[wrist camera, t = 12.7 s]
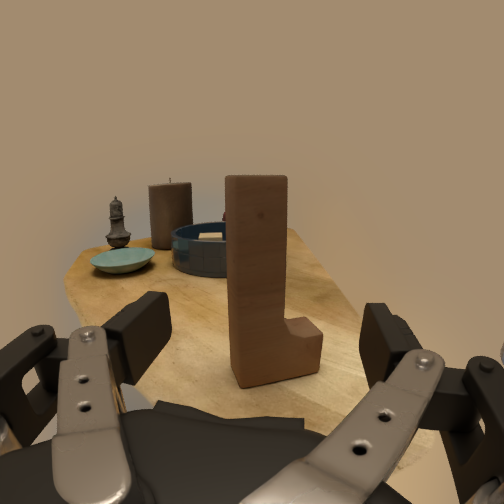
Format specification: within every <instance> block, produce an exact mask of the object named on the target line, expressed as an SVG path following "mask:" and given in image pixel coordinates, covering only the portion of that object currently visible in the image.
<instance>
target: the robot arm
mask: <svg viewBox="0 0 504 504" xmlns="http://www.w3.org/2000/svg"><path fill="white" fill-rule="evenodd" d="M171 333H172V324H171V316H170V308H169V300H168V295H167V294H166V293H165V292H155V291H148V292H147V293H145V294H144V295H143V296H142V297H141V298H139V299H138V300H137V301H135V302H133V303H131V304H128V305H127V306H125V307H124V308H123V309H122V310H121V312H120V311H119V312H118V313H117V314H116V315H115V316H113V317H112V318H111V319H109V320H108V321H107V322H106V323H105V324H103V325H102V326H101V327H99V326H86V327H82V328H79V329H77V330H75V331H74V332H72V334H71V335H70V338H69V339H65V338H56V335H55V331H54V329H53V327H52V326H50V325H38V326H35V327H31V328H29V329H28V330H26V331H25V332H24V333H22V334H21V335H20V336H18V337H17V338H16V339H14V340H13V341H12V342H10V343H9V344H7V345H6V346H5V347H4V348H3V349H1V350H0V504H412V503H411V502H409V501H408V500H407V499H405V498H404V497H403V496H402V495H400V494H399V493H398V492H397V491H395V490H394V489H393V488H392V487H390V486H389V485H388V484H387V483H386V481H387V480H388V478H389V477H390V475H391V474H392V472H393V471H394V469H395V467H396V466H397V464H398V463H399V461H400V459H401V458H402V456H403V455H404V453H405V451H406V450H407V448H408V446H409V445H410V443H411V441H412V439H413V438H414V436H415V434H416V432H417V430H418V428H420V429H429V430H439V432H440V434H441V438H442V441H443V444H444V447H445V450H446V454H447V457H448V461H449V464H450V467H451V471H452V475H453V478H454V482H455V486H456V490H457V494H458V498H459V503H460V504H504V369H503V367H502V366H501V365H500V364H499V363H498V362H497V361H496V360H494V359H492V358H489V357H485V356H476V357H473V358H471V359H470V360H469V361H468V364H467V366H466V369H456V368H448V367H445V362H444V359H443V358H442V357H441V356H440V355H438V354H437V353H435V352H432V351H430V350H425V349H423V348H422V346H421V345H420V343H419V342H418V340H417V338H416V337H415V335H413V332H412V330H411V329H410V327H409V326H408V324H407V323H406V321H405V320H403V319H402V318H400V317H399V316H397V315H392V314H391V312H390V311H389V309H388V307H387V306H386V304H385V303H367V304H366V305H365V309H364V315H363V321H362V327H361V333H360V339H359V353H360V357H361V360H362V364H363V367H364V371H365V374H366V378H367V382H368V385H369V389H370V391H369V392H368V393H367V394H366V395H365V396H364V398H363V399H362V400H361V401H360V402H359V403H358V404H357V405H356V407H355V408H354V409H353V410H352V411H351V412H350V413H349V414H348V415H347V416H346V418H345V419H344V420H343V421H342V422H341V423H340V424H339V425H338V426H337V427H336V428H335V429H334V430H333V431H332V432H331V433H330V434H329V435H328V436H325V435H322V434H320V433H317V432H314V431H311V430H307V429H304V418H284V417H269V416H265V417H253V418H239V419H224V418H220V417H218V416H215V415H212V414H209V413H206V412H204V411H201V410H198V409H196V408H193V407H190V406H184V405H179V404H174V403H169V402H164V401H160V400H158V401H157V403H156V405H155V406H154V408H153V409H141V410H134V411H130V412H127V410H126V406H125V402H124V398H123V394H122V390H121V388H120V385H121V383H126V384H129V385H133V386H135V385H136V383H137V382H138V381H139V379H140V378H141V377H142V375H143V374H144V373H145V371H146V370H147V369H148V368H149V366H150V365H151V364H152V362H153V361H154V360H155V358H156V357H157V356H158V354H159V353H160V352H161V350H162V349H163V348H164V346H165V345H166V344H167V342H168V341H169V340H170V337H171ZM33 367H34V368H35V370H36V373H37V375H38V378H39V380H40V382H39V383H38V384H37V385H36V386H35V387H34V388H33V389H32V390H31V391H30V392H29V393H28V394H27V395H26V394H25V392H24V390H23V388H22V379H23V377H24V375H25V374H26V373H27V372H28V371H29V370H31V369H32V368H33ZM56 413H57V434H56V435H54V436H53V438H52V439H50V440H48V441H44V442H41V443H38V444H35V445H31V444H32V443H33V442H34V440H35V439H36V438H37V437H38V435H39V434H40V433H41V432H42V430H43V429H44V427H46V425H47V424H48V423H49V422H50V421H51V419H52V418H53V417H54V416H55V414H56ZM481 418H482V419H483V422H484V424H485V435H484V433H483V431H482V429H481V426H480V424H479V421H480V419H481ZM30 445H31V446H30Z"/></svg>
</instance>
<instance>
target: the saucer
mask: <svg viewBox="0 0 504 504" xmlns="http://www.w3.org/2000/svg"><path fill="white" fill-rule="evenodd" d="M154 254H155V252H154V251H153V250H151V249H147V248H123V249H116V250H111V251H107V252H104V253H101V254H98V255H96V256H94V257H93V258H92V259H91V260H90V263H91V264H92V265H94V266H95V267H96V268H98V269H100V270H102V271H104V272H107V273H112V274H122V273H129V272H133V271H135V270H138V269H140V268H141V267H143V266H144V265H145V264H147V263H148V262H149V261H150V259H151V258H152V257H153V256H154Z"/></svg>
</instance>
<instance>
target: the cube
mask: <svg viewBox="0 0 504 504" xmlns="http://www.w3.org/2000/svg"><path fill="white" fill-rule="evenodd" d="M199 240H204V241H222V233H200V235H199Z"/></svg>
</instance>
